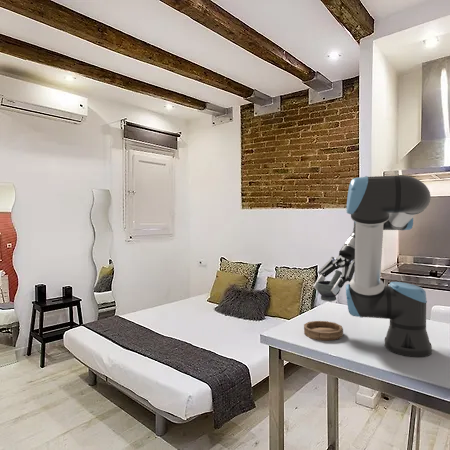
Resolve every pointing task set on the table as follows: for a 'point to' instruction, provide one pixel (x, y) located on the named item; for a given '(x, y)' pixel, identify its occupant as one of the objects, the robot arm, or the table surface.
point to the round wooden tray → (323, 330)
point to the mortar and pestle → (328, 287)
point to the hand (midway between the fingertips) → (324, 290)
